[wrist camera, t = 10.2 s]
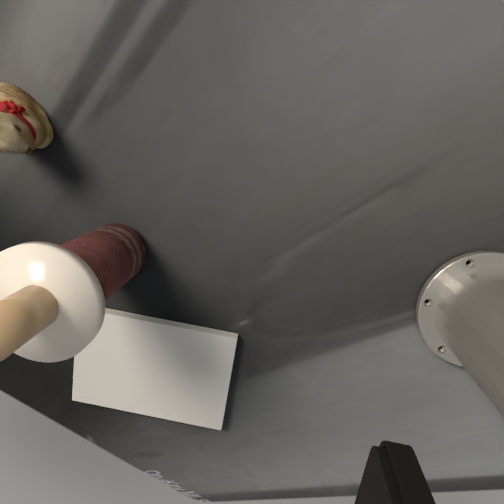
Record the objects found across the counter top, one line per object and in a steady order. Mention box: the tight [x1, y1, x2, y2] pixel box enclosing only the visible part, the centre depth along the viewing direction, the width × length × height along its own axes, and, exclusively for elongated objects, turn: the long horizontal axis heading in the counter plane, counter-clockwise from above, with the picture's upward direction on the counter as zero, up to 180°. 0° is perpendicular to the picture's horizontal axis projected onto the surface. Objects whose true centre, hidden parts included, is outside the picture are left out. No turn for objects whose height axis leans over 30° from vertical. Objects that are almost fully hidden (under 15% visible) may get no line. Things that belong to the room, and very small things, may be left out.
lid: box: [0, 241, 105, 362], centre depth 27 cm, size 9×9×6 cm
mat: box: [72, 308, 238, 430], centre depth 46 cm, size 18×12×1 cm, turn 80°
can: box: [60, 223, 146, 301], centre depth 37 cm, size 6×6×14 cm
